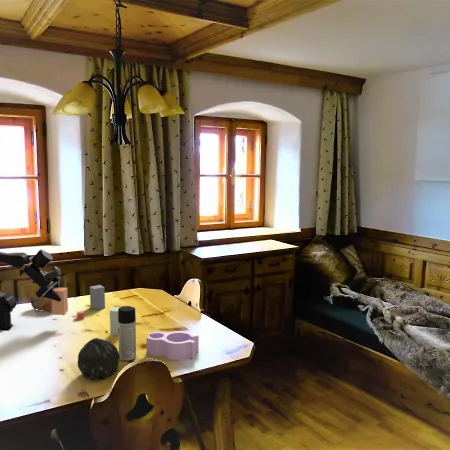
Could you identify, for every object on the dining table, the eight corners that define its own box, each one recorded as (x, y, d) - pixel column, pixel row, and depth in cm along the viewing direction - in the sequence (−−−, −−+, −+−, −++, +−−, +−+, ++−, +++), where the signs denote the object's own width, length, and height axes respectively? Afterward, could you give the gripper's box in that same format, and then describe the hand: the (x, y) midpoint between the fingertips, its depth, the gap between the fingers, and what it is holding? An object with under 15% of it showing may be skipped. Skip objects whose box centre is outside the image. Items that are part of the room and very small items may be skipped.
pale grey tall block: (122, 335, 204) (122, 311, 202) (110, 335, 204) (109, 310, 203) (126, 330, 209) (126, 307, 208) (114, 330, 210) (113, 306, 208)
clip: (143, 357, 183) (142, 340, 182) (153, 345, 195) (153, 329, 194) (192, 362, 179) (192, 344, 178) (200, 348, 191) (200, 332, 190)
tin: (30, 309, 237) (29, 293, 235) (35, 307, 240) (34, 292, 238) (56, 312, 232) (55, 296, 231) (60, 310, 235) (59, 294, 234)
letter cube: (84, 319, 224) (83, 313, 224) (77, 319, 223) (77, 313, 223) (83, 317, 227) (83, 311, 226) (77, 317, 226) (76, 311, 225)
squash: (120, 347, 179) (93, 323, 172) (132, 364, 166) (103, 339, 159) (92, 376, 175) (64, 353, 169) (102, 395, 162) (71, 372, 156)
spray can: (128, 352, 187) (127, 304, 184) (140, 357, 183) (139, 308, 180) (115, 358, 182) (113, 308, 179) (126, 363, 177) (125, 312, 174)
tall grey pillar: (105, 307, 240) (104, 287, 238) (94, 310, 237) (94, 289, 235) (100, 305, 244) (99, 284, 243) (90, 307, 241) (89, 286, 239)
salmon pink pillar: (64, 314, 210) (63, 291, 208) (52, 314, 210) (51, 291, 208) (67, 310, 215) (67, 287, 214) (55, 310, 215) (54, 287, 213)
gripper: (42, 267, 200) (69, 292, 202) (55, 258, 218) (80, 281, 220) (24, 285, 200) (51, 310, 203) (39, 274, 219) (63, 297, 221)
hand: (62, 298), depth 212 cm, fingers closed on salmon pink pillar, 5 cm apart
